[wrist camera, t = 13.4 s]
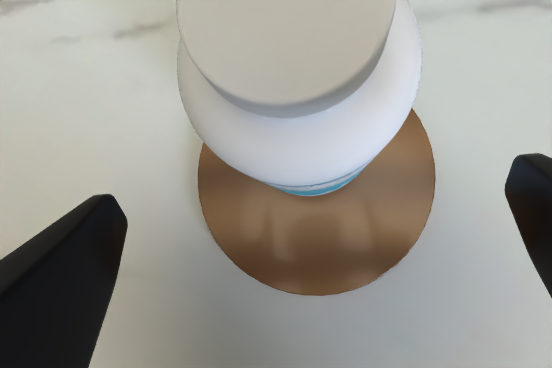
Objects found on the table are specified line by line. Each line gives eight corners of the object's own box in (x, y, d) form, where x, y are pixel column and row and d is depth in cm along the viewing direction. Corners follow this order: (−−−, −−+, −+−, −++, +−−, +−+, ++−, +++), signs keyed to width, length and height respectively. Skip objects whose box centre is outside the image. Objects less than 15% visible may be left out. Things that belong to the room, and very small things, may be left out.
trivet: (447, 287, 20) (450, 289, 19) (207, 300, 21) (204, 302, 21) (417, 49, 21) (420, 45, 20) (193, 78, 22) (190, 75, 22)
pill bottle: (255, 66, 21) (144, -177, 8) (381, 77, 20) (492, -182, 7) (237, 189, 21) (87, 146, 8) (365, 206, 20) (451, 192, 7)
